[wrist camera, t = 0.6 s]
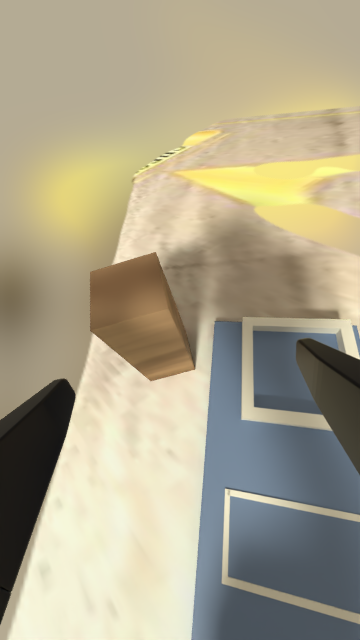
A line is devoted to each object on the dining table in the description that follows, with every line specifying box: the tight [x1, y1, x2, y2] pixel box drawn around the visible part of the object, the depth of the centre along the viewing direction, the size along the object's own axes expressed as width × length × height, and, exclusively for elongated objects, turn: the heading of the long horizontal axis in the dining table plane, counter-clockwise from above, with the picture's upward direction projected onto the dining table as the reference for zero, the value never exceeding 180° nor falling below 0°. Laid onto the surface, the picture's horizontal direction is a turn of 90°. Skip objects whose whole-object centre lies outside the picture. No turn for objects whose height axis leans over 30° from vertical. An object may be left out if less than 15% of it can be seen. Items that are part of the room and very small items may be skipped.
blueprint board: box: [191, 317, 360, 640], centre depth 18 cm, size 24×14×2 cm, turn 172°
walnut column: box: [90, 252, 195, 381], centre depth 20 cm, size 5×5×12 cm
